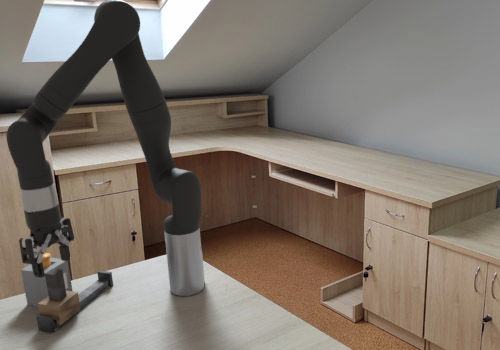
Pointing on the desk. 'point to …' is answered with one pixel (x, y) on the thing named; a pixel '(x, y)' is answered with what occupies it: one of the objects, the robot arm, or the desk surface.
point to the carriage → (58, 298)
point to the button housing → (43, 281)
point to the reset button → (46, 260)
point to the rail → (86, 296)
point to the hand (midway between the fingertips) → (53, 268)
